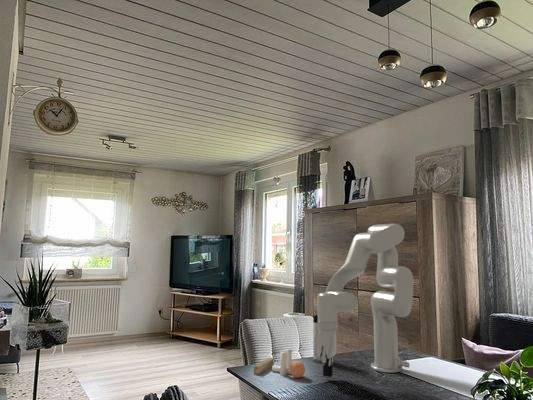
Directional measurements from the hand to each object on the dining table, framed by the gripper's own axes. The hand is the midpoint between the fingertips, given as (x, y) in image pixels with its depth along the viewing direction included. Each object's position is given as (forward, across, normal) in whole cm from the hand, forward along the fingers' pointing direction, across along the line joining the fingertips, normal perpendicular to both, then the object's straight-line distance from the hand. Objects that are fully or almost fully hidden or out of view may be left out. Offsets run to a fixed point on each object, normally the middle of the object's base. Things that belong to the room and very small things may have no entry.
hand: (327, 375), depth 149 cm
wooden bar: (+2, 0, -27) cm, 27 cm away
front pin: (0, 0, -14) cm, 15 cm away
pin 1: (+2, +2, -17) cm, 18 cm away
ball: (-2, +3, -11) cm, 12 cm away
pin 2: (+2, -2, -17) cm, 18 cm away
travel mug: (+2, -24, -11) cm, 26 cm away
